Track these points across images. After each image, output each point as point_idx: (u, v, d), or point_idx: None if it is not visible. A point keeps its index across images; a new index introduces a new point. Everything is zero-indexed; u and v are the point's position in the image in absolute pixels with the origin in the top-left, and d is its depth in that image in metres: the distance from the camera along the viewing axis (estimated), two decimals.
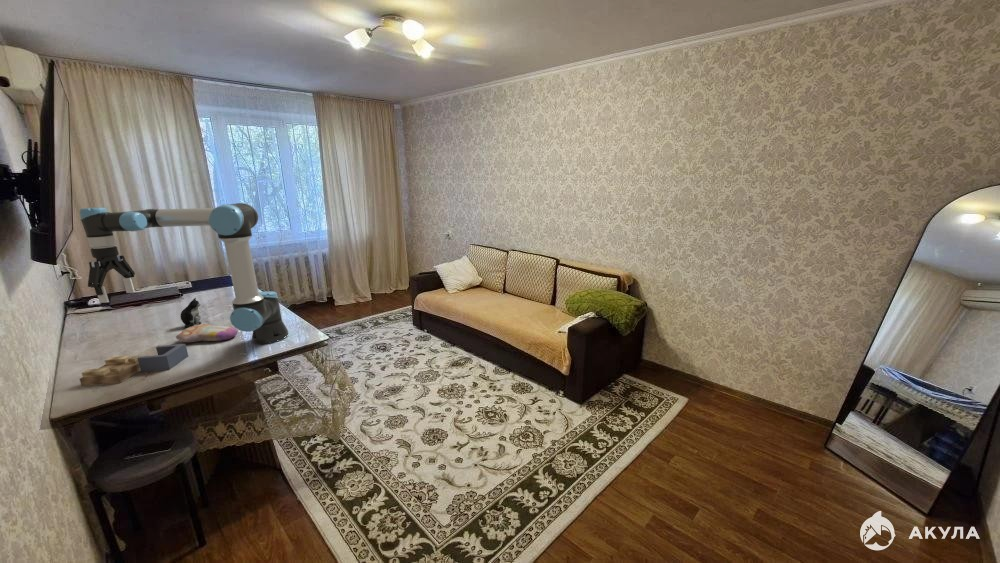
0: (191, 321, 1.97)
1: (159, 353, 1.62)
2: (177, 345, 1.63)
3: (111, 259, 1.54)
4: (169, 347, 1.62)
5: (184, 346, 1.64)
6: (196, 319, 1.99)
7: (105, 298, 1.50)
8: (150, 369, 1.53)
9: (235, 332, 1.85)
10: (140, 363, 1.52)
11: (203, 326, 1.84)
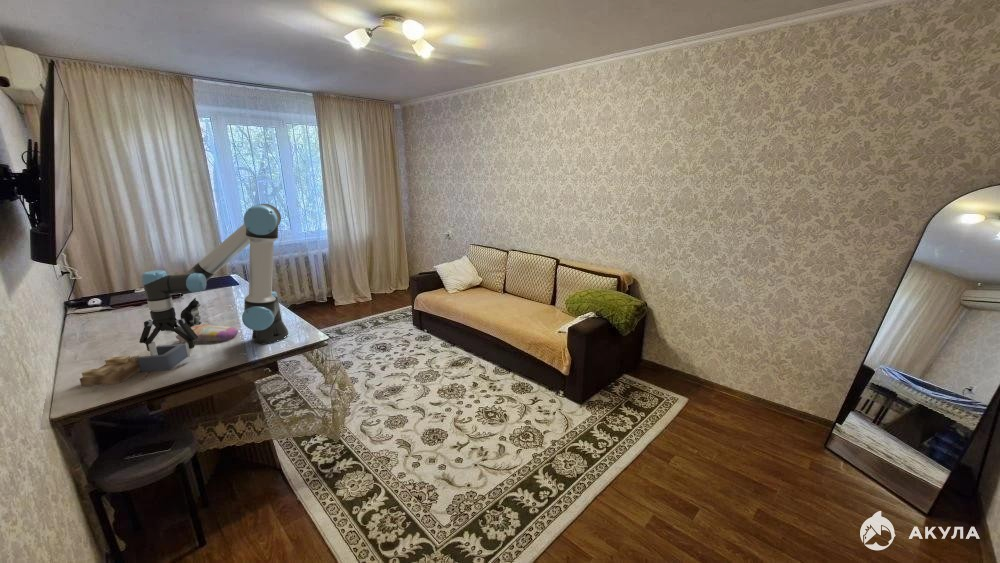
0: (191, 321, 1.97)
1: (159, 353, 1.62)
2: (177, 345, 1.63)
3: (164, 321, 1.54)
4: (169, 347, 1.62)
5: (184, 346, 1.64)
6: (196, 319, 1.99)
7: None
8: (150, 369, 1.53)
9: (235, 332, 1.85)
10: (140, 363, 1.52)
11: (203, 326, 1.84)
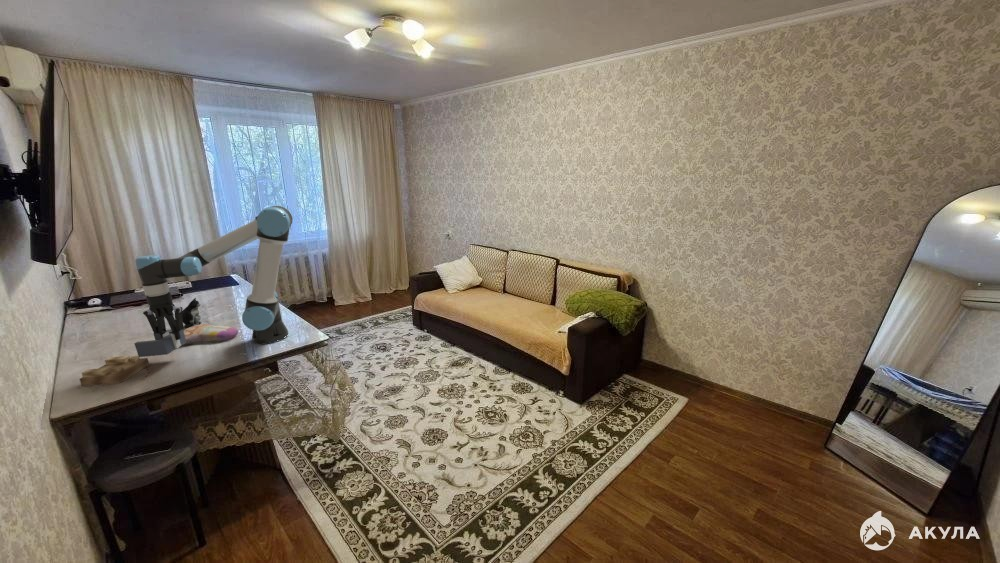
0: (191, 321, 1.97)
1: (157, 339, 1.61)
2: None
3: (161, 307, 1.53)
4: None
5: (181, 331, 1.62)
6: (196, 319, 1.99)
7: None
8: (147, 354, 1.52)
9: (236, 332, 1.85)
10: (137, 348, 1.51)
11: (203, 326, 1.84)
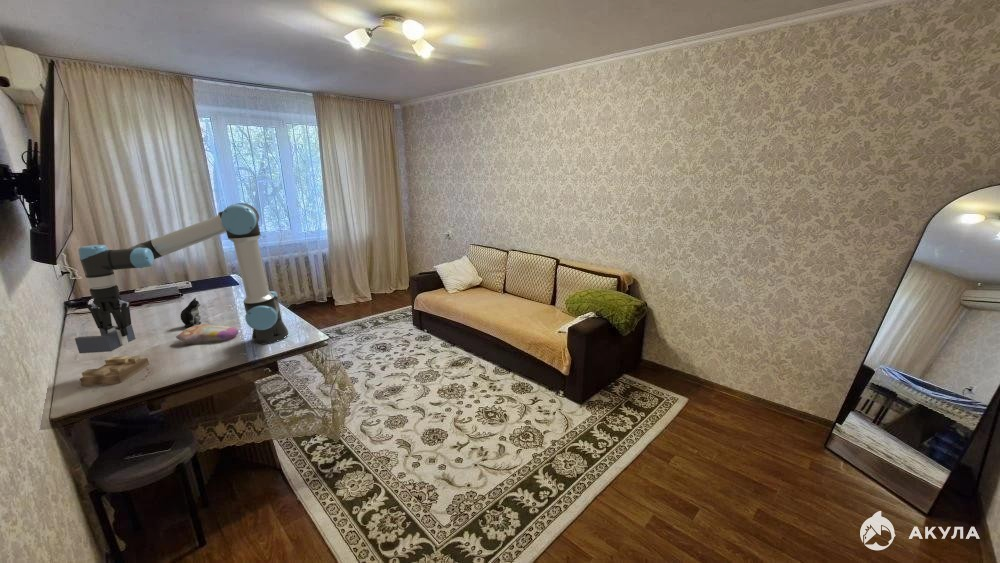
0: (191, 321, 1.97)
1: (103, 335, 1.51)
2: None
3: (106, 300, 1.43)
4: None
5: (130, 327, 1.52)
6: (196, 319, 1.99)
7: None
8: (89, 351, 1.42)
9: (236, 332, 1.85)
10: (78, 344, 1.40)
11: (203, 326, 1.84)
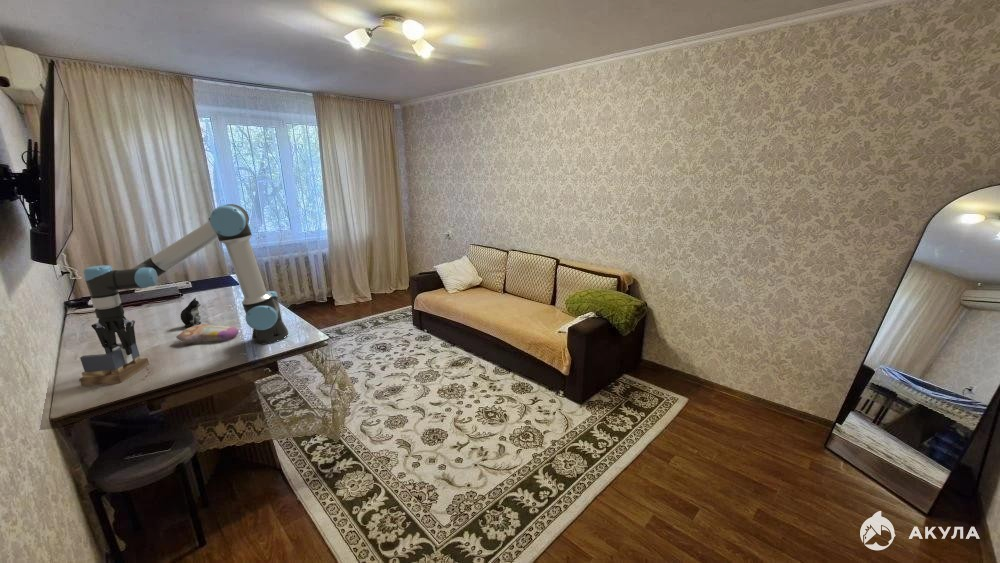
0: (191, 321, 1.97)
1: (107, 352, 1.52)
2: None
3: (111, 320, 1.44)
4: None
5: (134, 344, 1.54)
6: (196, 319, 1.99)
7: None
8: (94, 369, 1.43)
9: (236, 332, 1.85)
10: (83, 363, 1.42)
11: (204, 326, 1.84)
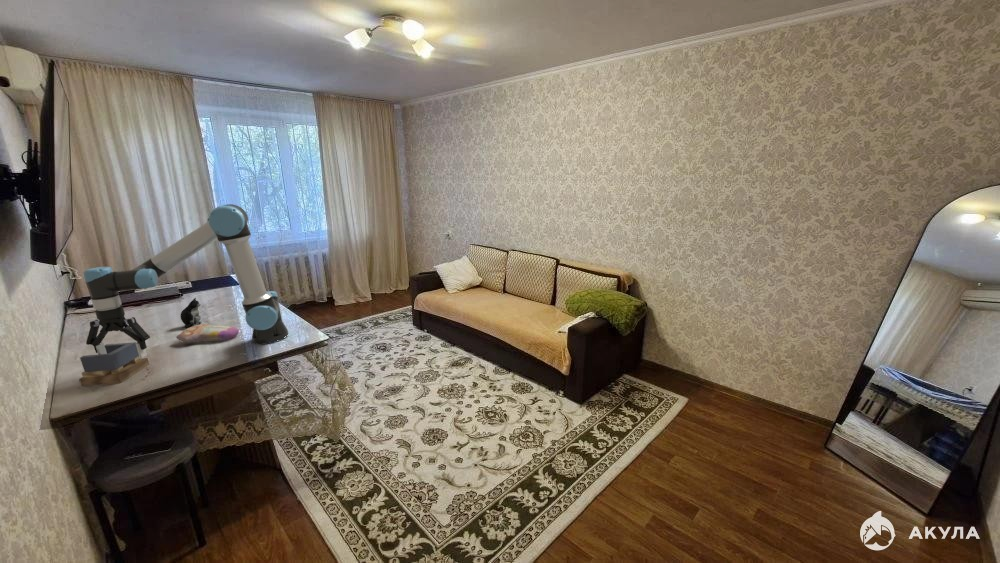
0: (191, 321, 1.97)
1: (107, 352, 1.52)
2: (126, 344, 1.53)
3: (112, 321, 1.45)
4: (118, 346, 1.52)
5: (134, 344, 1.54)
6: (196, 319, 1.99)
7: None
8: (94, 369, 1.43)
9: (236, 331, 1.85)
10: (83, 363, 1.42)
11: (204, 326, 1.84)
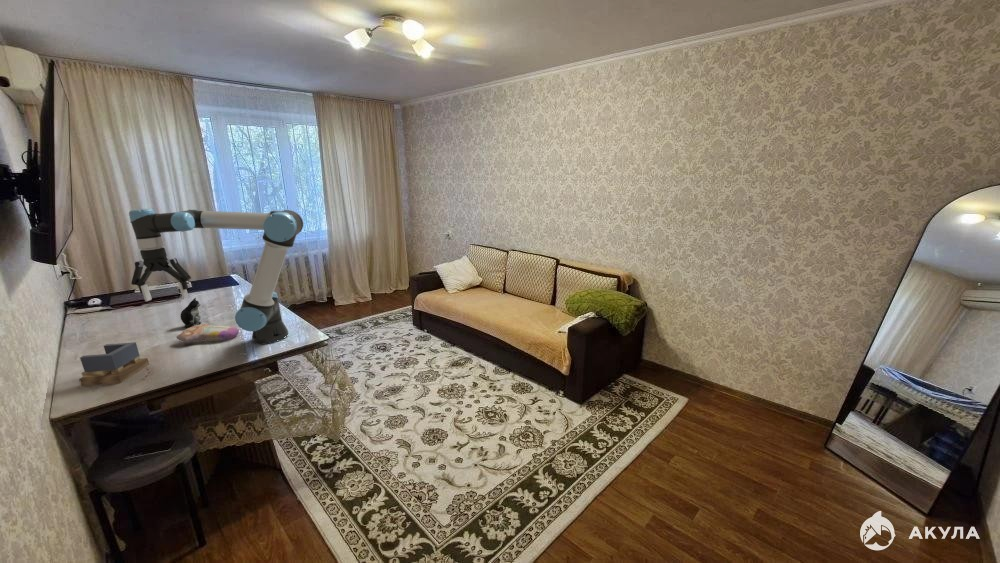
0: (191, 321, 1.97)
1: (107, 352, 1.52)
2: (126, 344, 1.53)
3: (155, 261, 1.52)
4: (118, 346, 1.52)
5: (134, 344, 1.54)
6: (196, 319, 1.99)
7: None
8: (94, 369, 1.43)
9: (237, 331, 1.86)
10: (83, 363, 1.42)
11: (204, 326, 1.84)
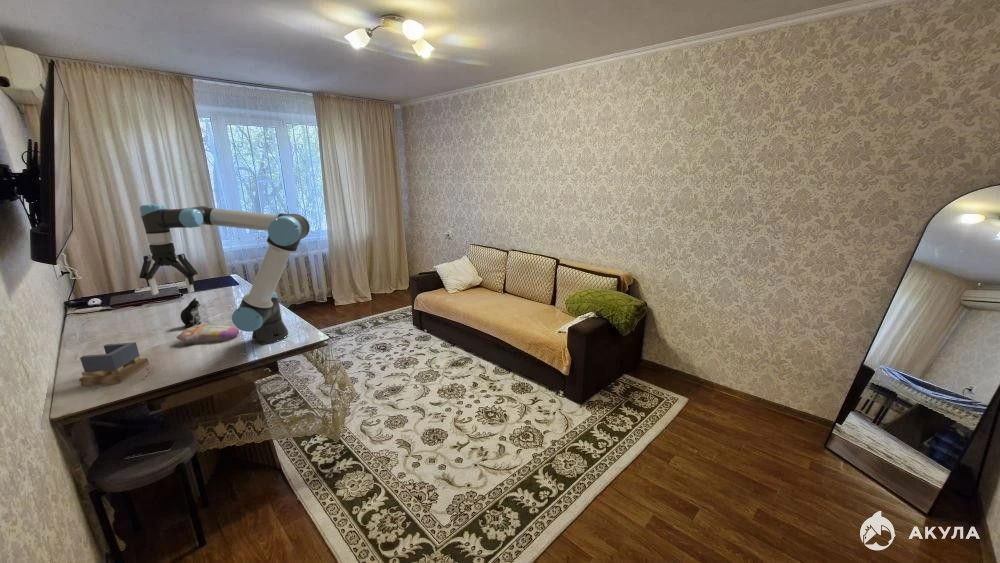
0: (191, 321, 1.97)
1: (107, 352, 1.52)
2: (126, 344, 1.53)
3: (163, 256, 1.54)
4: (118, 346, 1.52)
5: (134, 344, 1.54)
6: (196, 319, 1.99)
7: None
8: (94, 369, 1.43)
9: (237, 331, 1.86)
10: (83, 363, 1.42)
11: (204, 326, 1.84)
